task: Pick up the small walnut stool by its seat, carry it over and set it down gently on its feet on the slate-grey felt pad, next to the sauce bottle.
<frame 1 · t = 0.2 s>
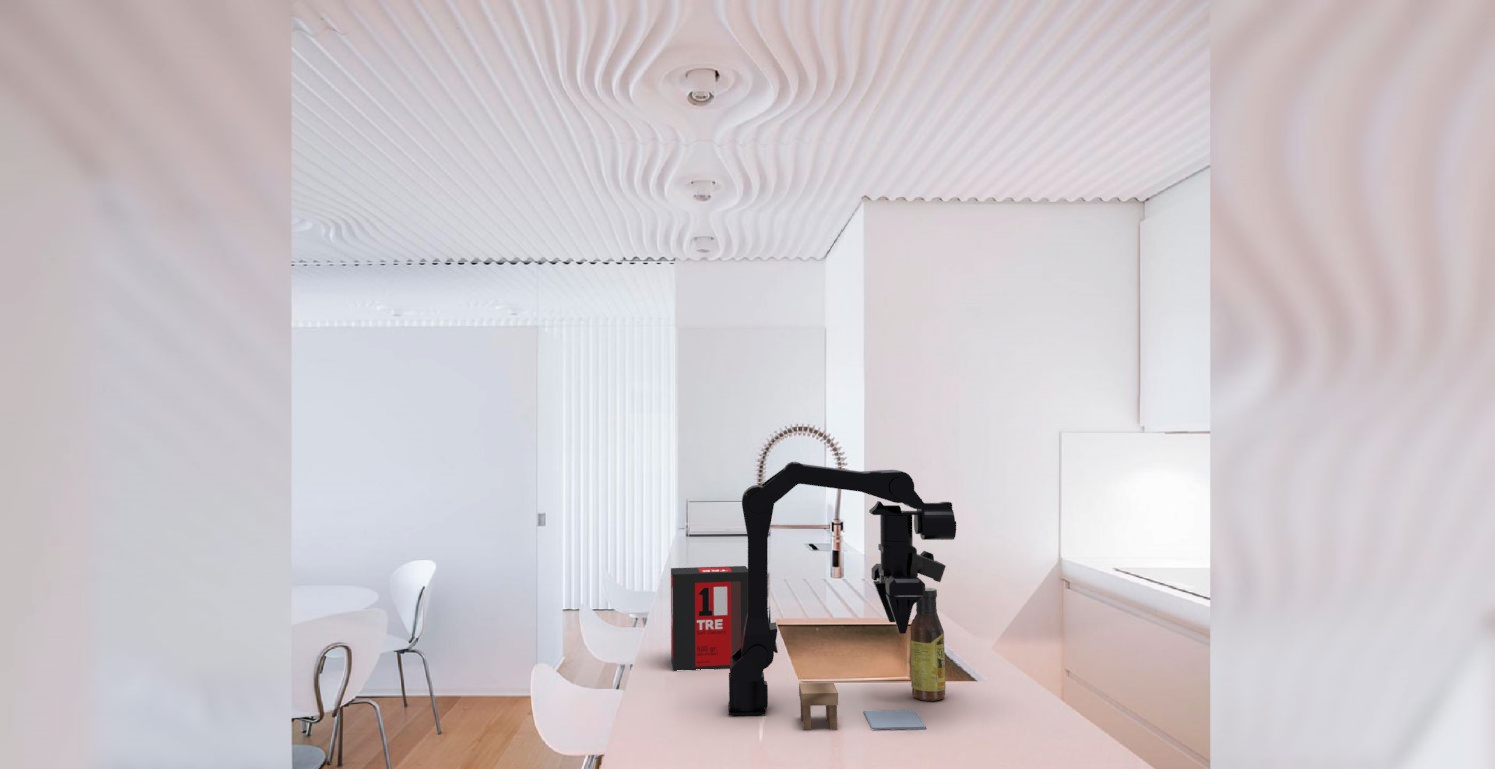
hand: (897, 627, 155), 14 cm above the counter, tool pointing down, fingers open, 9 cm apart
sauce bottle: (928, 698, 161), on the counter
stool: (818, 724, 146), on the counter
pad: (893, 720, 148), on the counter
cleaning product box: (710, 665, 186), on the counter
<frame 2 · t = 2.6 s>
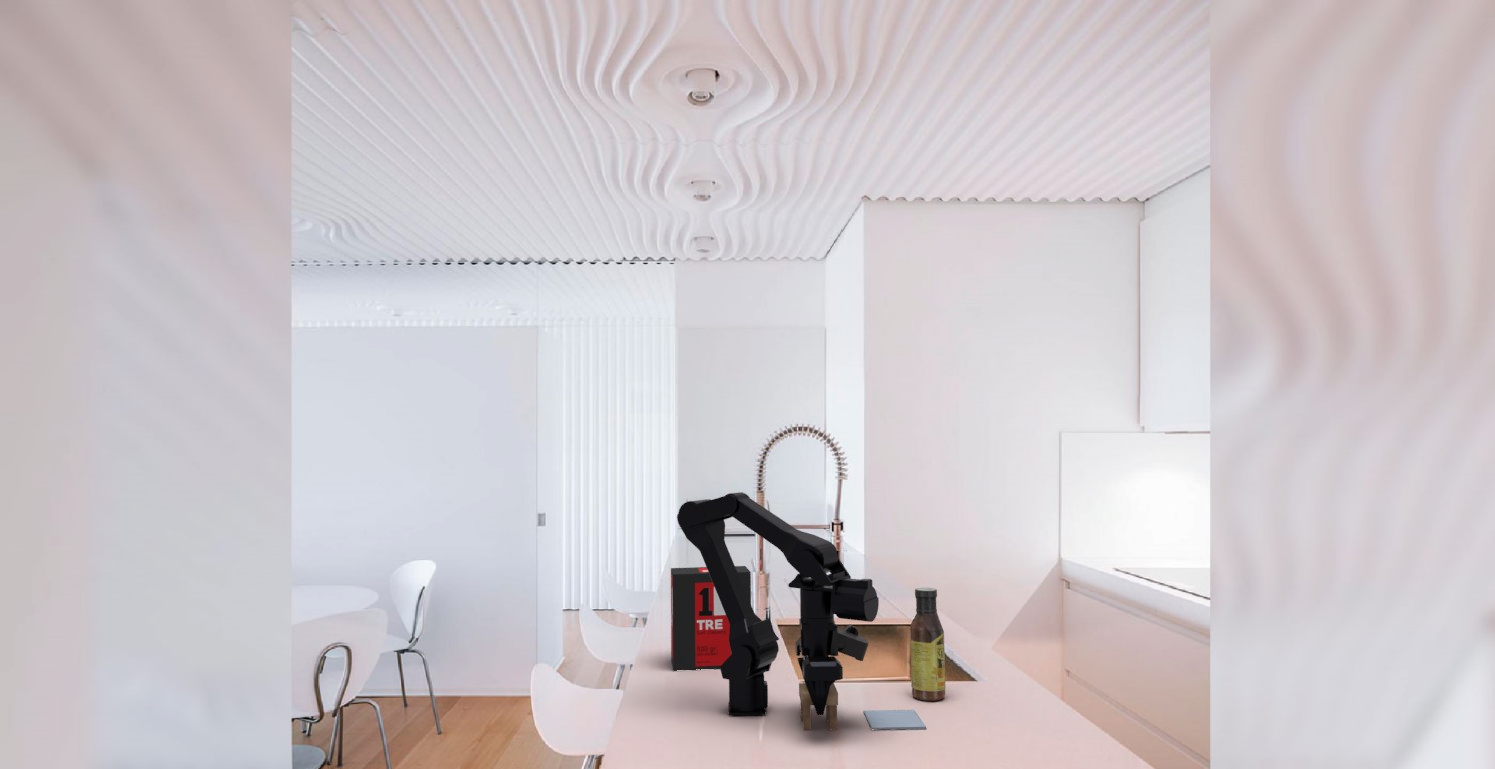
hand: (818, 709, 146), 3 cm above the counter, tool pointing down, fingers closed on stool, 6 cm apart
stool: (818, 724, 146), on the counter, touching gripper
everything else where it was.
when the fingers open (4 cm above the counter, at t = 6.3 s): stool drops 1 cm, resting on pad.
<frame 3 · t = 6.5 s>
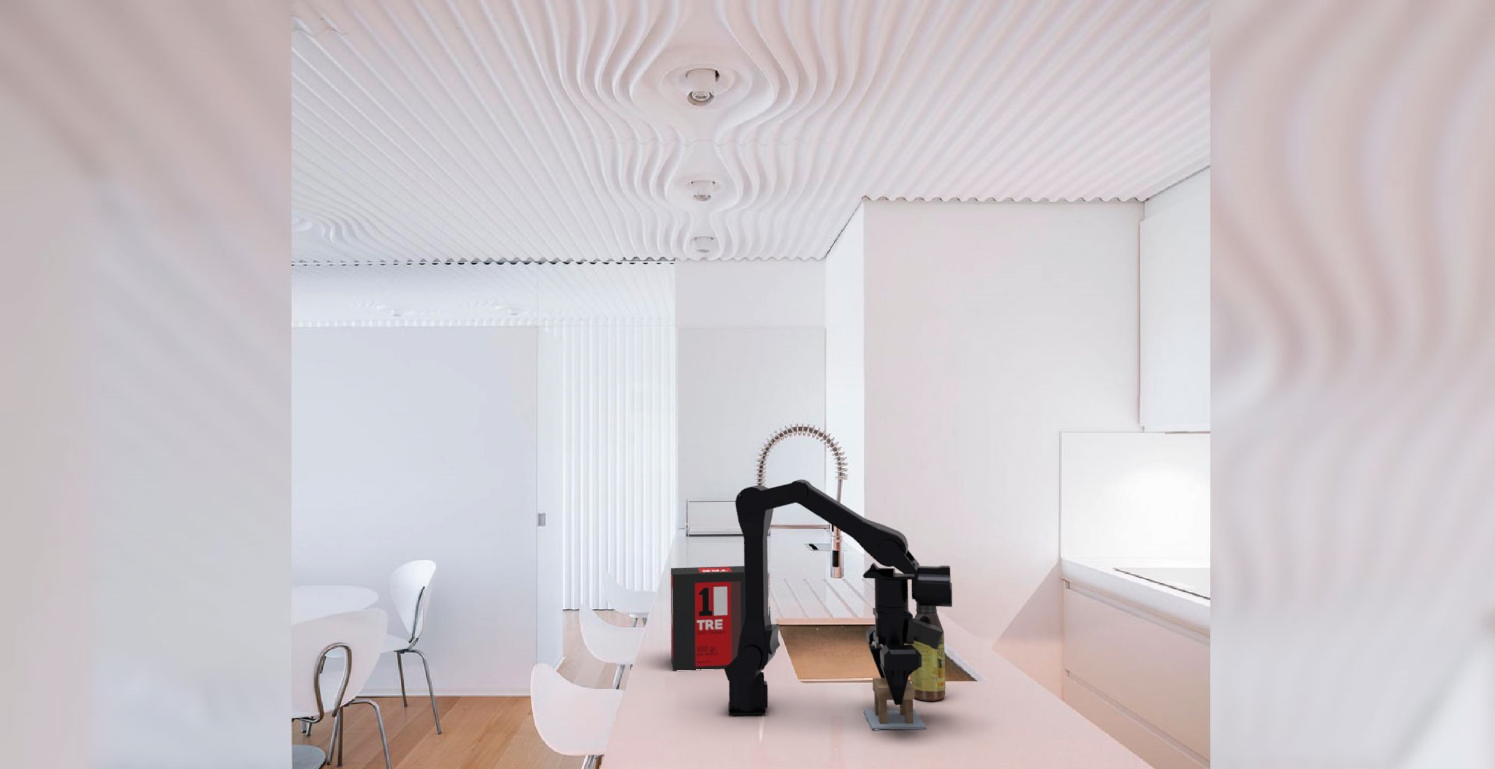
hand: (893, 697, 148), 4 cm above the counter, tool pointing down, fingers open, 8 cm apart
stool: (893, 718, 148), resting on pad
everything else where it was.
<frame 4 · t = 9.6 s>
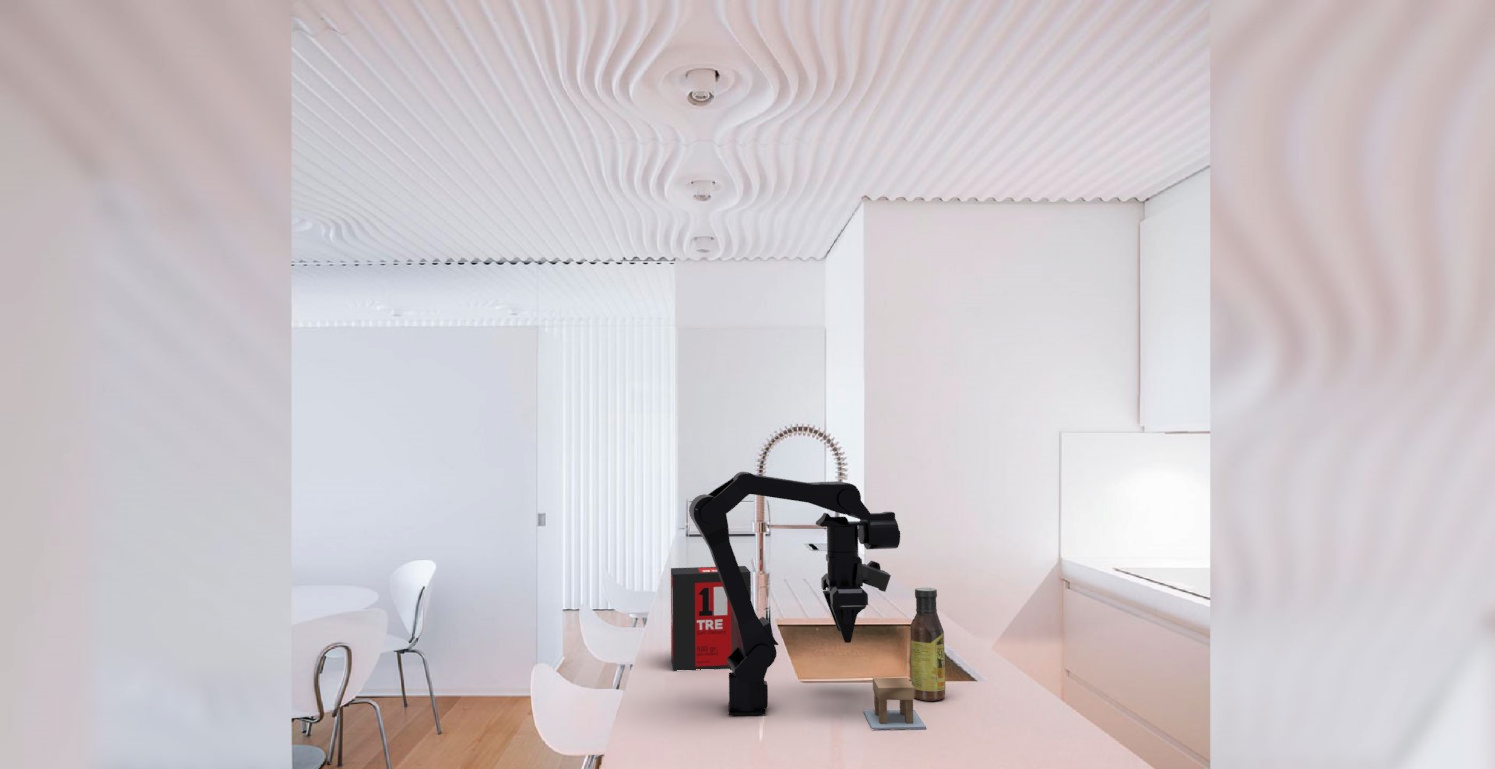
hand: (844, 636, 158), 12 cm above the counter, tool pointing down, fingers open, 9 cm apart
nothing on the counter moved.
at the end: stool inside the target area on the pad (0.0 cm from its centre), point 0.4 cm above the pad's base; stool tilted 0°; the gripper is holding nothing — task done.
